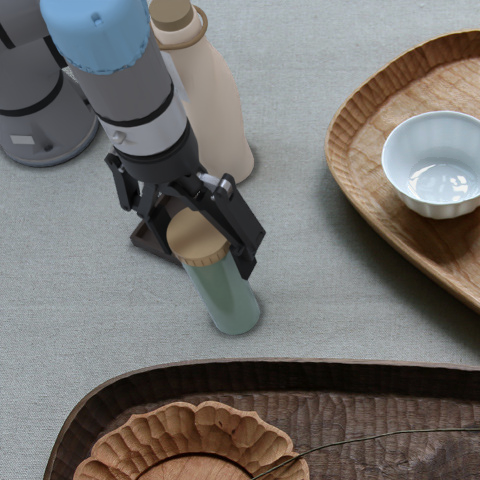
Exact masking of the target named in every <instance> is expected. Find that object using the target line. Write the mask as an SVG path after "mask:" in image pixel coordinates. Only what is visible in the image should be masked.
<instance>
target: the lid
mask: <svg viewBox="0 0 480 480" xmlns="http://www.w3.org/2000/svg"><path fill="white" fill-rule="evenodd" d="M167 241H168V244H169V247H170V249H171V250H172V252H173V254H174V256H175V257H177V258H178V259H179V260H180V262H183V263H185V264H187V265H190V266H195V267H201V266H208V265H211V264H214V263H216V262H218V261H219V260H221V259H222V258H223V257H224V256H225V255H227V253H228V252H229V247H230V245H231V243H230V242H229V241H228V240H227V239H226V238H225V237H224V236H223V235H222V234H221V233H220V232H219V231H218V230H217V229H216V228H215V227H214V226H213V225H212V224H211V223H210V222H209V221H208V220H207V219H206V218H205V217H204V216H203V215H202V214H201V213H200V212H199V211H192V210H191V209H190V208H189V207H187V208H185V209H183V210H181V211H180V212H179V213H177V214H176V215H175V216H174V217H173V219H172V220H171V222H170V223H169V226H168V228H167Z"/></svg>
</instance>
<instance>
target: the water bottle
mask: <svg viewBox="0 0 480 480" xmlns="http://www.w3.org/2000/svg"><path fill="white" fill-rule="evenodd" d="M148 8H149V14H150V23H149V24H150V26H151V29H152V31H153V34H154V36H155V39H156V41H157V44H158V47H159V49H160V52H161V55H162V57H163V60H164V62H165V65H166V68H167V70H168V72H169V74H170V76H171V79H172V81H173V83H174V86H175V88H176V90H177V93H178V95H179V97H180V99H181V102H182V104H183V106H184V109H185V111H186V115H187V117H188V119H189V122H190V124H191V127H192V129H193V131H194V134H195V136H196V139H197V142H198V149H199V161H200V163H201V164H202V165H203V166H204V167H205V168H206V170H207V171H208V174H209V175H212V176H215V177H217V178H220V179H221V178H222V176H223V174H224V173H228V174H230V175H232V176H233V177H234V179H235V183H236V185H237V184H240V183H242V182H243V181H245V180H246V179H247V178H248V177H249V176H250V175H251V174H252V172H253V170H254V167H255V158H254V155H253V152H252V150H251V147H250V145H249V142H248V140H247V137H246V135H245V124H244V116H243V110H242V102H241V97H240V92H239V89H238V85H237V83H236V80H235V78H234V76H233V72H232V70H231V68H230V67H229V65H228V63H227V61H226V59H225V58H224V56H223V54H221V53H220V52H219V50H217V48H216V47H214V46H213V44H212V43H211V42H210V41H209V40H208V38H207V35H206V32H207V30H208V28H209V27H208V26H209V19H208V16H207V14H206V12H205V11H204V10H203V9H202V8H201V7H199V6H197V5H195V4H192V3H191V0H151V2H150V3H149V4H148ZM200 17H201V18H200ZM201 20H202V21H201Z"/></svg>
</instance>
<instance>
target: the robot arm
mask: <svg viewBox="0 0 480 480" xmlns="http://www.w3.org/2000/svg"><path fill="white" fill-rule="evenodd" d="M150 21H151V16H150V14H149V4H148V0H0V147H1V149H2V150H3V152H5V154H6V155H7V156H8V157H9V158H10V159H12V161H15V162H17V163H19V164H21V165H24V166H27V167H34V168H35V167H36V168H42V167H45V168H46V167H52V166H55V165H59V164H63V163H64V162H68V161H70V160H71V159H73V158H74V157H76V156H77V155H79V154H81V153H82V151H84V150H85V149H86V148H87V147H88V146H89V145H90V144H91V143H92V141H93V140H94V138H95V136H96V134H97V133H98V129H99V125H100V124H101V126H102V128H103V131H104V132H105V134H106V135H107V137H108V139H109V141H110V142H111V144H112V146H111V148H110V149H109V151H108V152H107V154H106V155H105V157H104V159H103V161H104V163H105V164H106V166H107V167H108V168H109V170H110V172H111V174H112V178H113V182H114V186H115V189H116V194H117V198H118V202H119V206H120V208H121V209H122V210H123V211H125V212H128V213H130V212H131V211H134V212H136V216H137V217H138V218H140V219H141V220H142V219H144V221H145V223H146V225H147V226H148V228H149V229H150V230H151V231H152V232H153V233H154V235H155V237H156V238H157V240H158V242H159V244H160V246H161V247H162V249H163V251H164V253H165V254H167V255H171V254H172V250H171V249H170V247H169V244H168V241H167V228H168V226H169V223H170V222H171V220H172V219H171V218H170V216H169V214H168V212H167V210H166V208H165V206H164V205H162V204H159V203H158V205H157V206H156V207H155V204H156V202H157V200H158V199H159V196H160V194H161V193H162V194H165V195H170V196H174V197H177V198H179V199H180V200H181V201H182V202H183V203H184V204H185V205H186V206H188V207H189V208H190V209H191V210H192V211H199V212H200V213H201V214H202V215H203V216H204V217H205V218H206V219H207V220H208V221H209V222H210V223H211V224H212V225H213V226H214V227H215V228H216V229H217V230H218V231H219V232H220V233H221V234H222V235H223V236H224V237H225V238H226V239H227V240H228V241H229V242H230V243H231V245H230V247H229V250H230V252H231V255H232V257H233V259H234V262H235V264H236V266H237V269H238V271H239V273H240V276H241V278H242V279H244V280H247V281H249V279H250V277H251V275H252V273H253V272H254V270H255V268H256V266H257V264H258V261H257V260H258V259H257V258H256V255H257V253H258V250H259V248H260V246H261V244H262V242H263V240H264V238H265V237H266V235H267V231H266V230H265V228H264V227H263V224H261V222H260V221H259V219H258V217H256V215H255V214H254V212H253V210H252V208H250V205H248V203H247V201H246V200H245V199H244V196H243V195H242V194H241V193H240V190H239V189H238V188H237V184H236V183H235V179H234V177H233V176H232V175H230V174H228V173H224V174H223V176H222V178H221V179H220V178H217V177H215V176H212V175H209V174H208V171H207V170H206V168H205V167H204V166H203V165H202V164H201V163H200V161H199V149H198V142H197V139H196V136H195V134H194V131H193V129H192V127H191V124H190V122H189V119H188V117H187V115H186V111H185V109H184V106H183V104H182V102H181V99H180V97H179V95H178V93H177V90H176V88H175V86H174V83H173V81H172V79H171V76H170V74H169V72H168V70H167V68H166V65H165V62H164V60H163V57H162V55H161V52H160V49H159V47H158V44H157V41H156V39H155V36H154V34H153V31H152V29H151V26H150V24H149V23H150ZM65 68H69V70H70V71H71V73H72V75H73V76H74V78H75V79H74V78H73V77H72V76H70V75H69V74H68V73H67V72H66V71H64V69H65ZM139 182H141V183H143V186H142V190H141V189H140V184H139ZM196 195H197V197H196V199H195V200H194V199H193V198H194V197H195V196H196Z"/></svg>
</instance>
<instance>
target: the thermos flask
mask: <svg viewBox="0 0 480 480" xmlns="http://www.w3.org/2000/svg"><path fill="white" fill-rule="evenodd" d="M181 263H182V265H183V267H182V268H183V269H184V271H185V273H186V274H187V276H188V278H189V280H190V282H191V283H192V285H193V288H194V289H195V291H196V292H197V294H198V296H199V298H200V300H201V302H202V303H203V306H204V307H205V309H206V311H207V313H208V314H209V317H210V318H211V320H212V323H213V325H214V326H215V327H216V328H217V329H218V330H219V331H220V332H221V333H223V334H226V335H230V336H237V335H243V334H245V333H247V332H249V331H250V330H252V329H253V328H254V327H255V326H256V325H257V323H258V321H259V319H260V314H261V308H260V305H259V303H258V301H257V298H256V295H255V293H254V291H253V289H252V287H251V284H250V281H249V280H248V281H247V280H244V279H242V278H241V276H240V273H239V271H238V269H237V266H236V264H235V262H234V259H233V257H232V255H231V252H230V250H229V252H228V253H227V255H225V256H224V257H223V258H222V259H221V260H219V261H218V262H216V263H214V264H211V265H208V266H201V267H195V266H190V265H187V264H185V263H183V262H181Z"/></svg>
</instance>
